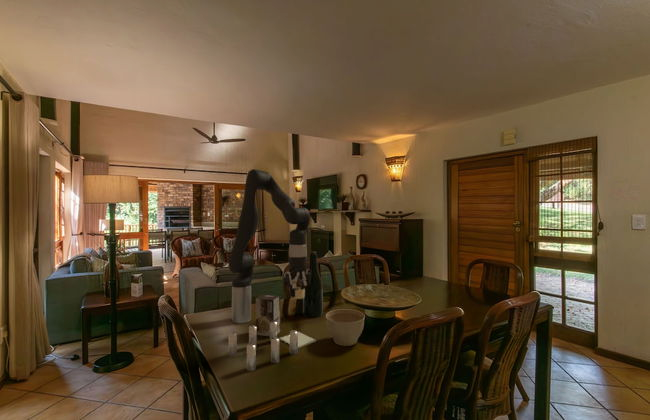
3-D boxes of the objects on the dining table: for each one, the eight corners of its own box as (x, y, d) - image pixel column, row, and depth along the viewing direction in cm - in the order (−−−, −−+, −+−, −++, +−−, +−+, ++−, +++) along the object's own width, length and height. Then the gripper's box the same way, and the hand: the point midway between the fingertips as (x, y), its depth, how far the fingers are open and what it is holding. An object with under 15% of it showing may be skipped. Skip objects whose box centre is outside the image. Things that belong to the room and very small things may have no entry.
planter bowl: (319, 337, 131) (319, 312, 131) (353, 331, 138) (353, 307, 138) (335, 353, 117) (335, 324, 117) (372, 346, 123) (372, 318, 123)
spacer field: (225, 353, 116) (226, 332, 116) (273, 338, 130) (273, 319, 130) (250, 373, 102) (250, 349, 102) (300, 353, 116) (300, 332, 116)
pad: (279, 339, 129) (279, 338, 129) (298, 333, 136) (298, 331, 136) (296, 348, 120) (296, 347, 120) (316, 341, 127) (316, 340, 127)
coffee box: (280, 332, 137) (280, 295, 138) (273, 337, 131) (273, 299, 131) (262, 329, 140) (262, 294, 140) (255, 334, 134) (255, 297, 134)
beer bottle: (298, 314, 161) (298, 251, 161) (312, 310, 168) (312, 250, 169) (313, 319, 154) (313, 253, 154) (326, 314, 162) (327, 251, 162)
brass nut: (288, 296, 129) (288, 288, 129) (298, 294, 132) (298, 286, 132) (297, 299, 124) (297, 290, 124) (306, 297, 128) (306, 288, 128)
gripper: (305, 252, 136) (305, 291, 136) (278, 255, 126) (278, 297, 126) (316, 254, 131) (316, 294, 130) (289, 257, 121) (289, 301, 121)
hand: (297, 295), depth 128 cm, fingers closed on brass nut, 5 cm apart
